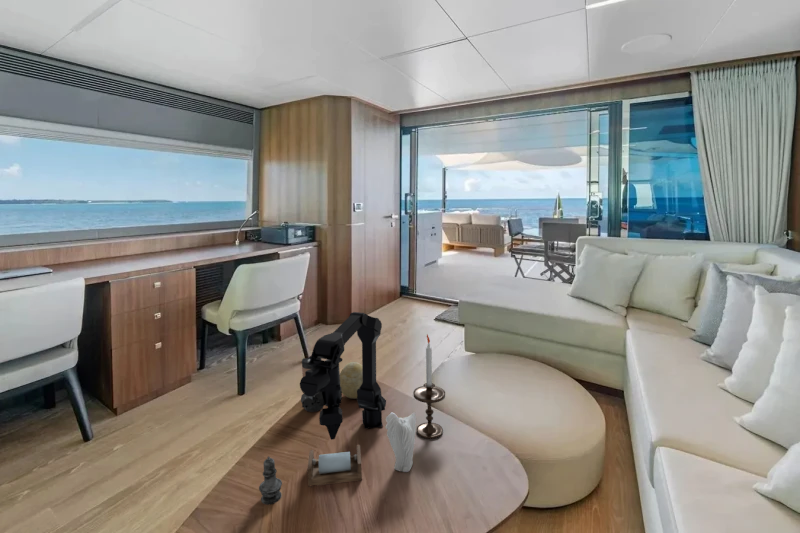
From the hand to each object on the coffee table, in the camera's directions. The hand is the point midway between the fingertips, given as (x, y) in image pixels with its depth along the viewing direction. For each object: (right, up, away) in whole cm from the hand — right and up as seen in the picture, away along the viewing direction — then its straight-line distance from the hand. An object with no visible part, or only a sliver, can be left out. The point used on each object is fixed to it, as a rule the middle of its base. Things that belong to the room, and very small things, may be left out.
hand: (332, 430), depth 115 cm
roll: (+1, -11, -2) cm, 11 cm away
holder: (+1, -12, -1) cm, 12 cm away
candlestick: (+30, -9, +19) cm, 37 cm away
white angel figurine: (+21, -11, 0) cm, 24 cm away
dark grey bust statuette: (-15, -14, -11) cm, 23 cm away
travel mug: (-14, -7, +37) cm, 41 cm away
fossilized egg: (+1, -6, +46) cm, 46 cm away
